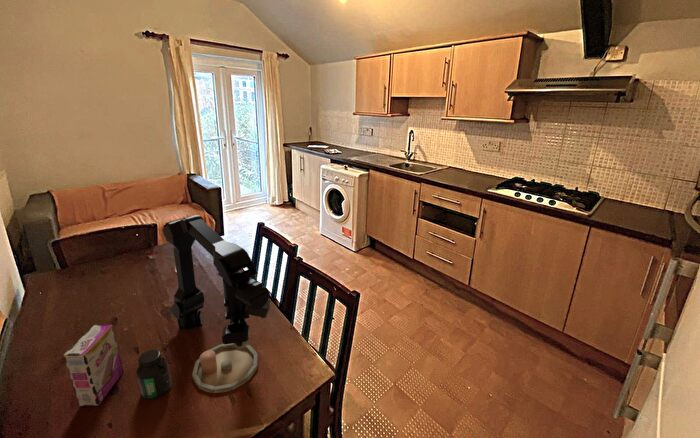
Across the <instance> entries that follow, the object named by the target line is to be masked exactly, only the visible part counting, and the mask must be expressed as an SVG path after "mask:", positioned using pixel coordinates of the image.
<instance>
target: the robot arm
mask: <svg viewBox="0 0 700 438" xmlns="http://www.w3.org/2000/svg"><path fill="white" fill-rule="evenodd" d="M162 234H163V236H164V238H165V241H166V242H167V243H168V244H169V245H170V246H171V247H172V249H173V256H174V262H175V269H176V270H175V271H176V276H177V284H178V288H177V290H176V292H175V293H174V295H173V297H174V298H173V301H174V303H173V304H172V305H171V306H170V308H169V309H170V313H171V315H172V316H173V317H175V318H176V319H177V324H178V329H179V330H181V329H182V330H192V329H194V328H198V327H199V328H200V327H201V326H202V324H203V315H202V314H203V313H202V311H201V310H200V309H203V308H204V305H205V296H204V293H203V291H201V290H200V288H198V287H197V285H196V275H195V266H194V259H193V250H192V249H193V248H192V246H193V245H194V243H195V241H196V242H198V243H199V245H200V246H201V247H203V249H205V251H206V252H207V253H208V254H209V255H210V256H212V259H213V260H212V261H213V266H214V267H215V268H216V271H217V272H218V273H217V276H219V277H220V278H222V287H223V294H224V299H223V307H225V320H230V321H229V323H230V324H226V325H225V326H224V327H223V330H222V336H221V339H222V344H232V343H235V344H236V345H237V346H238V347H240V346H242V343H243V342H246V341H248V342H249V339H250V338H249V337H250V325H249V324H248V322H247V321H246V319H249V318H250V316H251V317H257V318H258V317H259V318H262V319H265V318H267V315H268V313H269V311H270V308H271V306H270V305H271V304H270V302H271V301H270V291H269V289H268V288H267V287H265V286H263V283H262V282H261V281H259V280H255V279H254V276H256V275H258V271H257V270H256V267H257V266H256V265H255V263H254V261H253V260H252V258H251V257H250V255H249V253H248V252H247V250H245V249H244V248H243V247H241V246H240V245H239V244H237V243H234V242H230V241H227V240H225V239H224V238H223V237H221V235H219V233H217V232H216V231H215V230H214V229H213V228H212V227H211V226H210V225H209V224H208V223H206V222H205V220H204V218H203V217H202V215H200V214H193V215H190V216H187V217H183V218H179V219H175V220H172V221H168V222H165V224H163V227H162ZM246 268H247V269H246ZM244 269H246V270H244ZM241 270H244V271H241Z"/></svg>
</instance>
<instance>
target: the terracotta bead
mask: <svg viewBox="0 0 700 438" xmlns="http://www.w3.org/2000/svg"><path fill="white" fill-rule="evenodd" d="M208 350H209V349H208ZM199 358H200V362H201V368H202V373H203V374H204V375H210V374H213V373H214V372H215V371H216V370H217V362H216V355H215V352H214V351H212V350H209V351H207V350H206V351H203V352H202V353H201V354H200V356H199Z"/></svg>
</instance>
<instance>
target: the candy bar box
mask: <svg viewBox="0 0 700 438" xmlns="http://www.w3.org/2000/svg"><path fill="white" fill-rule="evenodd" d="M113 326H114V325H112V324H94V325H93V326H92V327H91V328H90V329H89V330H87V331H86V333H85V334H84V335H83V336H81V337H80V339H79V340H77V341H76V342H75V344H73V345H72V346H71V347H70V348H69V349H68V350H67V351H66V352H65V353H64V354H63V358H64V361H65V365H66V367H67V371H68V373H69V377H70V380H71V383H72V387H73V389H74V392H75V396H76V399H77V402H78V405H79V406H80V407H97V406H98V407H99V406H100V405H101V404H102V402H103V401H104V399H105V398H106V397H107V395H108V394H109V393H110V391H111V389H113V387H114V386H115V384H116V383H117V381H118V380H119V379H120V377H121V376H122V374H124V368H123V363H122V360H121V356H120V355H121V354H120V352H119V347H118V343H117V339H116V335H115V331H114V327H113Z"/></svg>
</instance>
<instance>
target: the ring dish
mask: <svg viewBox="0 0 700 438" xmlns="http://www.w3.org/2000/svg"><path fill="white" fill-rule="evenodd" d="M209 350H212V351H214V352H215V355H216V362H217V370H216V371H215V372H214V373H213V374H210V375H204V374H203V373H202V368H201V362H200V357H199V358H198V359H196V361H195V362H194V367H193V369H192V374H191V375H192V379H193V382H194V384H195V386H196V387H197V388H198V389H199V390H202V391H204V392H206V393H212V394H218V393H219V394H220V393H221V394H222V393H225V392H230V391H234V390H235V389H237V388H239V387H241V386H243V385H244V384H245V383H247V382H248V381H249V380H250V379H251V378H252V376H253V375H254V374H255V373H256V371H257V370H258V364H259V360H258V359H259V356H258V352H257V351H256V350H255V349H254V347H252V346H251V345H250V344H248V345H247V346H246V347H244V348H240V349H238V348H235V347H234V345H233V343H232V344H223V343H220V344H218V345H216V346H214V347H211V348H210V349H207V350H206V351H209Z"/></svg>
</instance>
